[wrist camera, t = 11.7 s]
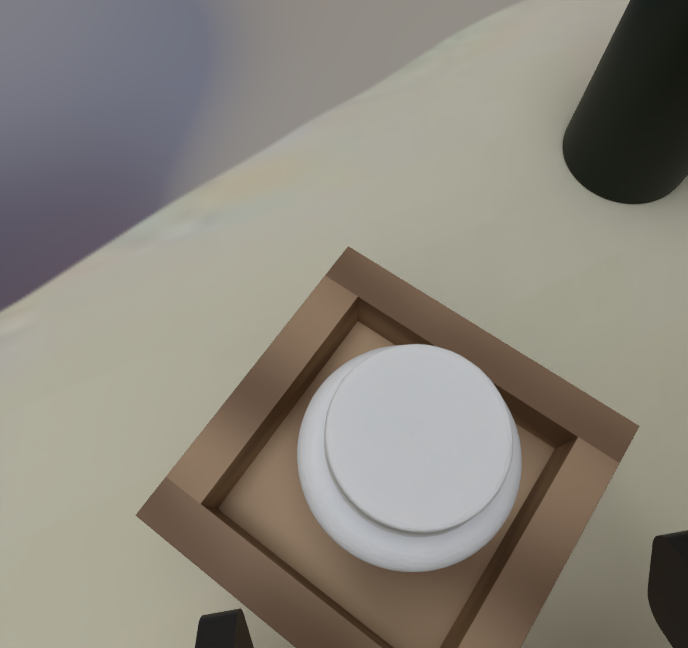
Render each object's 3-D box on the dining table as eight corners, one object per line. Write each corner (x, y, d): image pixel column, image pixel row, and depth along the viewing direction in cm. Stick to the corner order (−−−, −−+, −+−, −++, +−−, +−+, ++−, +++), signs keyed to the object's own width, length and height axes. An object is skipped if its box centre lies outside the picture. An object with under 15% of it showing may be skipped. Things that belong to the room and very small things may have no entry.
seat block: (349, 284, 26) (348, 246, 23) (599, 443, 23) (639, 426, 20) (168, 520, 22) (135, 515, 19) (435, 738, 20) (451, 776, 16)
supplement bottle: (498, 494, 22) (613, 451, 12) (383, 600, 20) (408, 646, 11) (397, 380, 23) (428, 262, 14) (285, 472, 22) (231, 415, 12)
